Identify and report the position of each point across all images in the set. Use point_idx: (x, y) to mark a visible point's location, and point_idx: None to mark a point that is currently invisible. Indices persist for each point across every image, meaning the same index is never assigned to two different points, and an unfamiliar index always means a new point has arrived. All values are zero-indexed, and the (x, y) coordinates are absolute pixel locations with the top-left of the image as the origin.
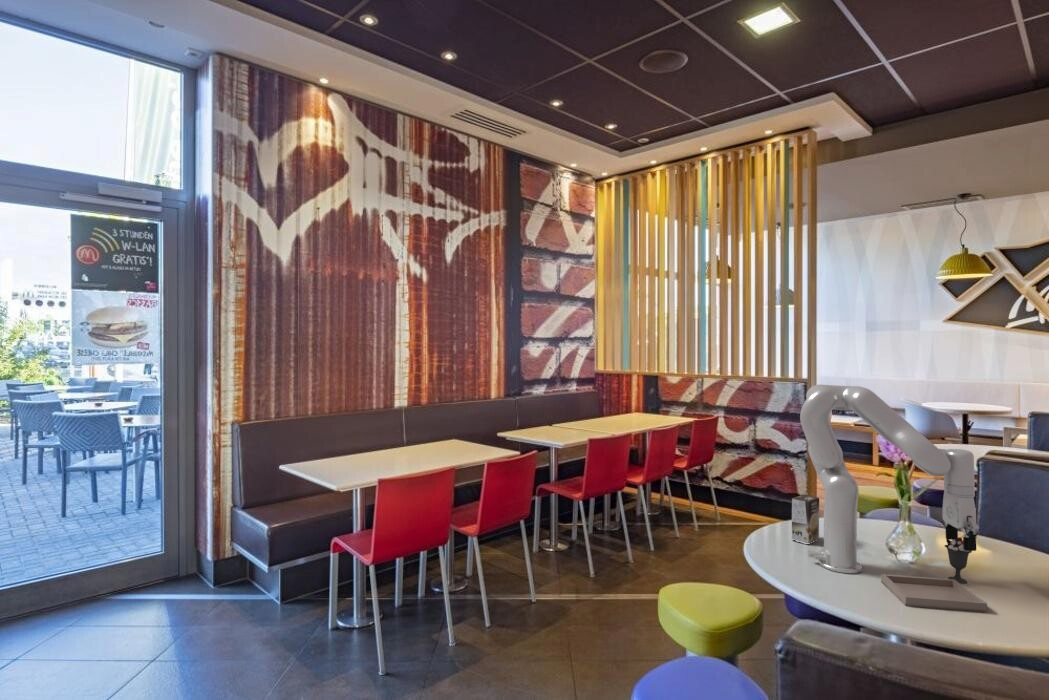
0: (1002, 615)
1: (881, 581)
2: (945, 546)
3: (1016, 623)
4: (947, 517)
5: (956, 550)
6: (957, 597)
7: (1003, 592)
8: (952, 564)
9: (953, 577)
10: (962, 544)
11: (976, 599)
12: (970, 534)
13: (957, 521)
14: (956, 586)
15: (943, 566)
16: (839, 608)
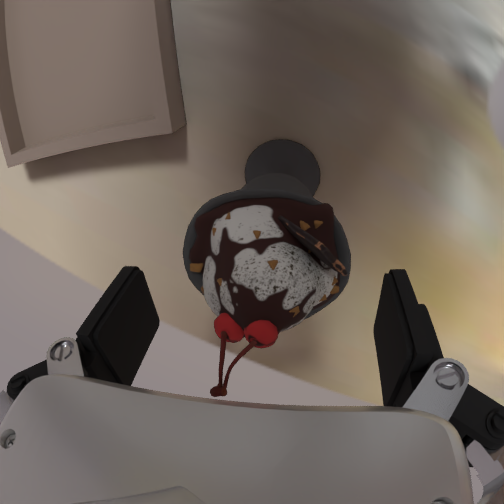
0: (30, 189)
1: None
2: (283, 194)
3: (9, 201)
4: (259, 501)
5: (210, 234)
6: (69, 101)
7: None
8: (259, 176)
9: (282, 162)
10: (219, 304)
11: (27, 149)
12: (30, 372)
13: (19, 444)
14: (130, 121)
15: (442, 200)
16: None
